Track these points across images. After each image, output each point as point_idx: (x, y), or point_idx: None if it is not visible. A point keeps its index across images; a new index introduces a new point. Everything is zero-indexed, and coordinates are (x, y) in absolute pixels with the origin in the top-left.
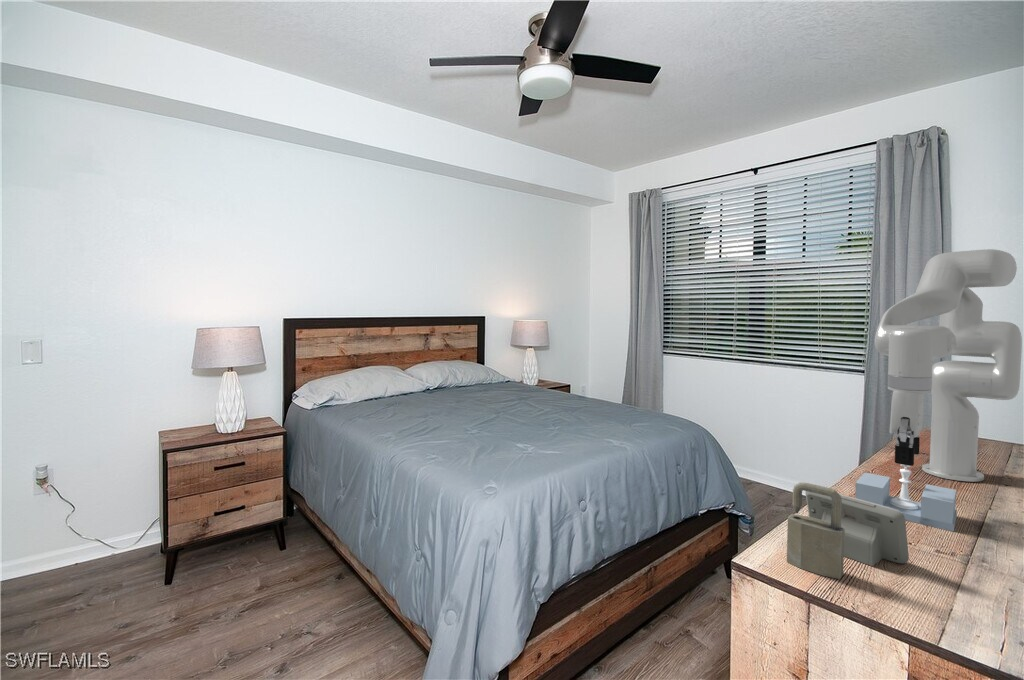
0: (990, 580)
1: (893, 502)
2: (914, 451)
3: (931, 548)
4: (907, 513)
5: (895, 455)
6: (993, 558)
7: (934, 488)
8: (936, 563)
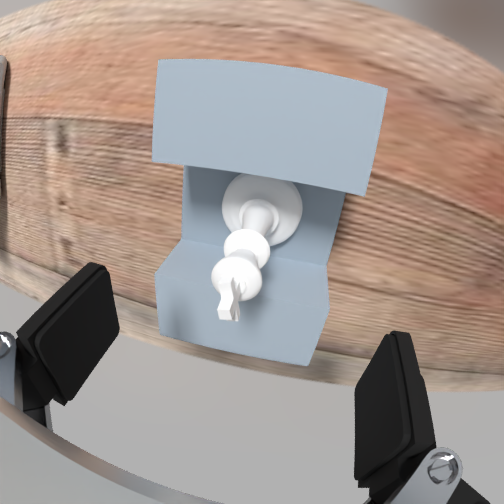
0: (38, 285)
1: (237, 179)
2: (361, 390)
3: (68, 234)
4: (185, 210)
5: (64, 288)
6: None
7: (286, 323)
8: (28, 234)
